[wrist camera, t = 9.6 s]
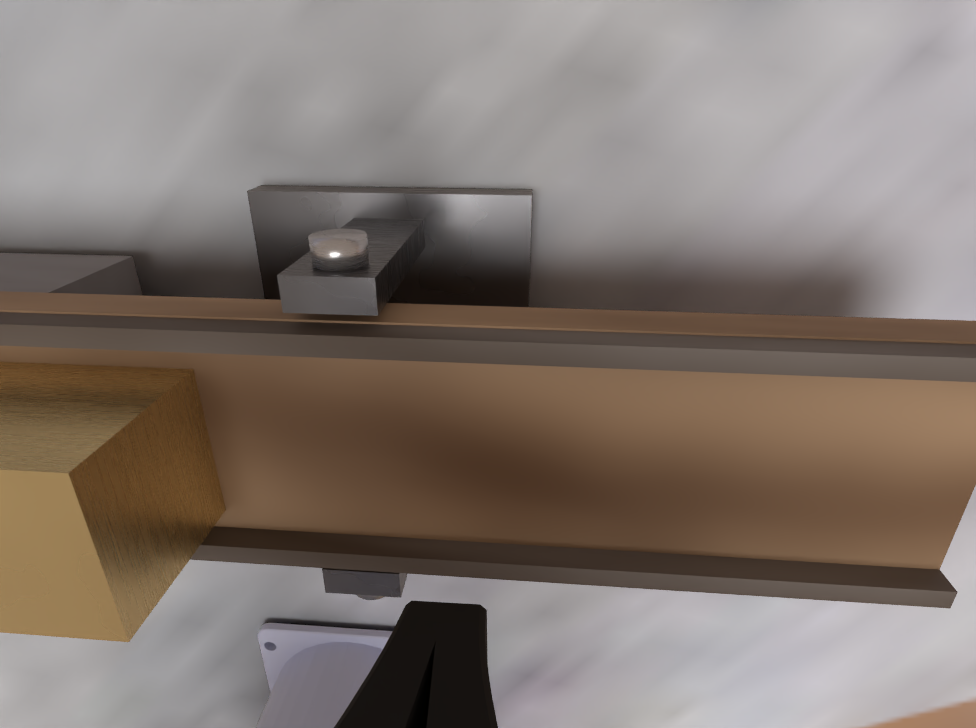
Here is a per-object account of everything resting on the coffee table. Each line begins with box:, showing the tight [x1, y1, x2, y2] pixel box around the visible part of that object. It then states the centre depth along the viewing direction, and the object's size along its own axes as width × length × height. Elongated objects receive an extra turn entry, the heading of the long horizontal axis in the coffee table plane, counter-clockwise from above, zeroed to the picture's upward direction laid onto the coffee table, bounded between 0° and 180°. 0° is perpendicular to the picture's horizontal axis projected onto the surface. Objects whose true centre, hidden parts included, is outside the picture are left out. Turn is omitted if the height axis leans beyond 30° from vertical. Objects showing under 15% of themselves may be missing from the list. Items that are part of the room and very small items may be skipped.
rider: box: [0, 361, 226, 642], centre depth 13 cm, size 4×6×4 cm, turn 90°
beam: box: [0, 253, 976, 608], centre depth 16 cm, size 6×29×6 cm, turn 90°
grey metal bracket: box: [247, 185, 532, 600], centre depth 17 cm, size 10×8×6 cm
